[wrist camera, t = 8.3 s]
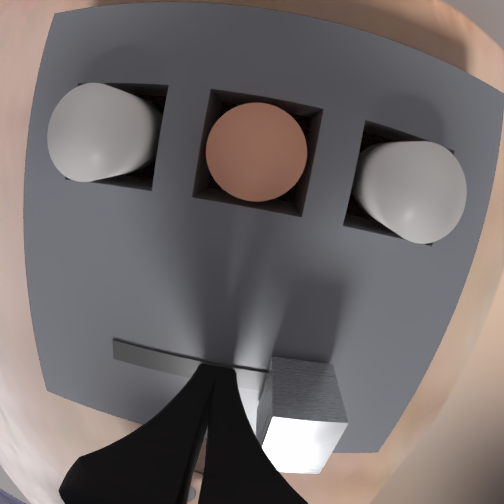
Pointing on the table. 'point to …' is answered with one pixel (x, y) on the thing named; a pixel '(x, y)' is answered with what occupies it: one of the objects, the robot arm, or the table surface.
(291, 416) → the slider knob
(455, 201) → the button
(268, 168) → the middle button
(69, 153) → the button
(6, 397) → the table surface
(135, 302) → the control panel
